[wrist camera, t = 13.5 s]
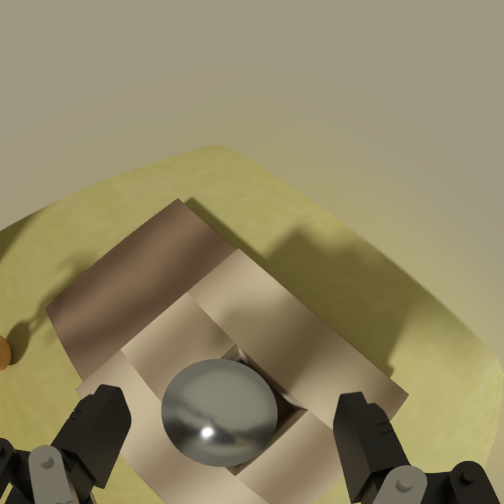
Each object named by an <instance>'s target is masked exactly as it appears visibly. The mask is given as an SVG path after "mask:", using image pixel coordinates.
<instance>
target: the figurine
mask: <svg viewBox="0 0 504 504" xmlns="http://www.w3.org/2000/svg"><path fill="white" fill-rule="evenodd" d="M10 361H11V349H10V346H9V344H8V343H7V341H6V340H5V339H4V338H3V337H2V336H0V370H3V369H5V368H6V367H7V366H8V365H9V363H10Z"/></svg>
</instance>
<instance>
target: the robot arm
mask: <svg viewBox="0 0 504 504" xmlns="http://www.w3.org/2000/svg"><path fill="white" fill-rule="evenodd" d="M131 422H132V418H131V413H130V410H129V408H128V405H127V403H126V400H125V397H124V394H123V391H122V389H121V388H120V387H116V386H111V385H106V384H101V385H99V387H98V388H97V390H96V391H95V393H94V394H89V395H87V396H86V397H85V398H83V399H82V400H80V402H79V403H78V405H77V406H76V407H75V409H74V412H72V413H71V415H70V416H69V419H67V421H66V422H65V424H64V425H63V427H62V428H61V430H60V431H59V433H58V435H57V436H56V438H55V439H54V441H53V442H52V444H51V445H50V446H49V445H42V446H39V447H37V448H35V449H34V450H33V451H32V452H29V451H22V450H17V449H14V447H13V446H12V445H11V443H10V442H9V441H8V440H6V439H4V438H0V499H1V497H2V495H3V493H4V491H5V489H6V487H7V485H8V483H10V484H11V485H12V486H13V487H12V489H11V491H10V493H9V495H8V497H7V499H6V502H5V504H97V503H96V501H95V498H94V495H93V493H92V492H91V490H92V488H93V486H96V487H99V488H102V489H104V488H105V486H106V483H107V481H108V479H109V476H110V474H111V471H112V469H113V467H114V464H115V462H116V460H117V457H118V455H119V453H120V450H121V448H122V446H123V443H124V441H125V439H126V437H127V434H128V432H129V430H130V427H131ZM333 435H334V439H335V442H336V446H337V450H338V454H339V458H340V462H341V466H342V469H343V473H344V477H345V481H346V485H347V489H348V493H349V498H350V502H351V504H354V503H358V502H361V504H500V502H499V500H498V498H497V496H496V494H495V492H494V489H493V487H492V486H491V483H490V481H489V479H488V477H487V475H486V473H485V471H484V469H483V468H482V467H481V465H479V464H478V463H476V462H473V461H464V462H461V463H459V464H457V465H456V466H455V467H454V468H453V469H452V471H450V472H441V473H424V472H423V471H422V470H421V469H419V468H417V467H414V466H411V465H410V463H409V461H408V459H407V457H406V455H405V453H404V451H403V448H402V446H401V444H400V442H399V440H398V438H397V436H396V433H395V432H394V429H393V427H392V425H391V423H390V421H389V419H388V417H387V415H386V413H385V411H384V410H383V409H382V408H381V407H380V406H378V405H377V404H376V403H370V404H367V401H366V399H365V397H364V395H363V393H362V392H361V391H359V392H352V393H344V394H340V396H339V400H338V404H337V408H336V412H335V416H334V420H333Z"/></svg>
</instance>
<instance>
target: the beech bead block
mask: <svg viewBox="0 0 504 504" xmlns="http://www.w3.org/2000/svg"><path fill="white" fill-rule="evenodd" d="M208 359H227V360H232V361H236V362H240V361H243V362H244V363H245V364H246V365H247V366H248V367H249V368H251V369H252V370H254V371H255V372H256V373H258V374H259V375H260V376H261V377H262V378H263V379H264V380H265V382H266V383H267V384H268V385H269V386H270V387H271V388H272V389H273V390H274V391H275V392H276V393H277V394H278V395H280V396H281V397H282V398H283V399H284V400H285V401H286V402H287V403H289V404H290V405H291V406H292V407H293V408H294V409H293V410H292V411H291V412H290V413H289V414H288V415H287V416H286V417H285V418H284V419H283V420H282V421H281V422H280V423H279V424H278V425H277V426H276V429H275V431H274V434H273V436H272V438H271V440H270V442H269V443H268V445H267V446H266V447H265V448H264V449H263V450H262V451H261V452H260V453H259V454H258V455H257V456H255V457H254V458H252V459H250V460H249V461H247V462H244V463H242V464H239V465H235V466H229V467H214V466H208V465H204V464H201V463H198V462H196V461H193V460H192V459H190V458H188V457H187V456H185V455H184V454H182V453H181V452H180V451H179V450H178V449H177V448H176V447H175V446H174V445H173V443H172V442H171V441H170V439H169V437H168V436H167V434H166V432H165V429H164V426H163V423H162V417H161V405H162V399H163V396H164V393H165V391H166V388H167V387H168V385H169V383H170V382H171V381H172V379H173V378H174V377H175V376H176V375H177V374H178V373H179V372H180V371H182V370H183V369H184V368H186V367H188V366H189V365H191V364H194V363H196V362H199V361H203V360H208ZM101 384H106V385H111V386H116V387H120V388H121V389H122V391H123V394H124V397H125V400H126V403H127V405H128V408H129V410H130V413H131V418H132V422H131V427H130V430H129V432H128V434H127V437H126V439H125V441H124V443H123V446H122V448H121V450H120V454H121V455H122V457H123V458H124V459H125V460H126V461H127V463H128V464H129V465H130V466H131V467H132V468H133V470H134V471H135V472H136V473H137V474H138V475H139V476H140V477H141V479H142V480H143V481H144V482H145V483H146V484H147V485H148V486H149V487H150V488H151V489H152V490H153V491H154V492H155V493H156V494H157V495H158V496H159V497H160V498H161V499H162V500H163V501H164V502H165V503H166V504H313V503H314V502H316V501H317V500H318V499H319V498H320V497H321V496H322V495H323V494H324V493H326V492H327V491H328V490H329V489H330V488H331V487H332V486H333V485H334V484H335V483H336V482H337V481H338V480H339V479H340V478H341V477H342V476H343V475H344V473H343V469H342V466H341V462H340V458H339V454H338V450H337V446H336V442H335V439H334V435H333V420H334V416H335V412H336V408H337V404H338V400H339V396H340V394H344V393H352V392H359V391H361V392H362V393H363V395H364V397H365V399H366V401H367V404H370V403H376V404H377V405H378V406H380V407H381V408H382V409H383V410H384V411H385V413H386V415H387V417H388V419H389V421H391V419H392V418H393V417H394V415H395V414H396V413H397V411H398V410H399V409H400V407H401V406H402V404H403V403H404V401H405V400H406V399H407V397H408V396H409V394H408V393H407V392H405V391H404V390H403V389H402V388H401V387H399V386H398V385H397V384H396V383H395V382H394V381H392V380H391V379H390V378H389V377H388V376H387V375H385V374H384V373H383V372H382V371H381V370H380V369H378V368H377V367H376V366H375V365H374V364H372V363H371V362H370V361H369V360H368V359H367V358H365V357H364V356H363V355H362V354H361V353H360V352H358V351H357V350H356V349H355V348H354V347H353V346H351V345H350V344H349V343H348V342H347V341H346V340H344V339H343V338H342V337H341V336H340V335H339V334H337V333H336V332H335V331H334V330H333V329H332V328H330V327H329V326H328V325H327V324H326V323H325V322H323V321H322V320H321V319H320V318H319V317H318V316H317V315H315V314H314V313H313V312H312V311H311V310H310V309H308V308H307V307H306V306H305V305H304V304H303V303H301V302H300V301H299V300H298V299H297V298H296V297H295V296H293V295H292V294H291V293H290V292H289V291H288V290H286V289H285V288H284V287H283V286H282V285H281V284H279V283H278V282H277V281H276V280H275V279H274V278H273V277H271V276H270V275H269V274H268V273H267V272H266V271H264V270H263V269H262V268H261V267H260V266H259V265H258V264H256V263H255V262H254V261H253V260H252V259H251V258H250V257H248V256H247V255H246V254H245V253H244V252H243V251H241V250H240V249H239V248H238V249H237V250H236V251H235V252H233V253H232V254H231V255H230V256H229V257H227V258H226V259H225V260H224V261H223V262H221V263H220V264H219V265H218V266H217V267H216V268H214V269H213V270H212V271H211V272H210V273H209V274H207V275H206V276H205V277H204V278H203V279H201V280H200V281H199V282H198V283H197V284H196V285H194V286H193V287H192V288H191V289H190V290H189V291H187V292H186V293H185V294H184V295H183V296H182V297H180V298H179V299H178V300H177V301H176V302H175V303H173V304H172V305H171V306H170V307H169V308H168V309H166V310H165V311H164V312H163V313H162V314H161V315H159V316H158V317H157V318H156V319H155V320H154V321H152V322H151V323H150V324H149V325H148V326H147V327H145V328H144V329H143V330H142V331H141V332H140V333H139V334H137V335H136V336H135V337H134V338H133V339H132V340H130V341H129V342H128V343H127V344H126V345H125V346H124V347H122V348H121V349H120V350H119V351H118V352H117V353H116V354H114V355H113V356H112V357H111V358H110V359H109V360H108V361H106V362H105V363H104V364H103V365H102V366H101V367H100V368H98V369H97V370H96V371H95V372H94V373H93V374H92V375H90V376H89V377H88V378H87V379H86V380H85V381H84V382H83V383H81V384H80V385H79V386H78V387H77V388H76V389H75V390H76V391H77V393H78V395H79V396H80V398H81V399H83V398H85V397H86V396H87V395H89V394H94V393H95V391H96V390H97V388H98V387H99V385H101Z"/></svg>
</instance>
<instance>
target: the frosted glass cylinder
mask: <svg viewBox="0 0 504 504" xmlns="http://www.w3.org/2000/svg"><path fill="white" fill-rule="evenodd" d="M161 417H162V423H163V426H164V429H165V432H166V434H167V436H168V437H169V439H170V441H171V442H172V443H173V445H174V446H175V447H176V448H177V449H178V450H179V451H180V452H181V453H182V454H184V455H185V456H187V457H188V458H190V459H192V460H193V461H196V462H198V463H201V464H204V465H208V466H214V467H229V466H235V465H239V464H242V463H244V462H247V461H249V460H250V459H252V458H254V457H255V456H257V455H258V454H259V453H260V452H261V451H262V450H263V449H264V448H265V447H266V446H267V445H268V443H269V442H270V440H271V438H272V436H273V434H274V431H275V429H276V424H277V405H276V401H275V398H274V395H273V393H272V391H271V389H270V387H269V386H268V384H267V383H266V382H265V380H264V379H263V378H262V377H261V376H260V375H259V374H258V373H256V372H255V371H254V370H252V369H251V368H249V367H248V366H245V365H243V364H241V363H239V362H236V361H232V360H227V359H208V360H203V361H199V362H196V363H194V364H191V365H189V366H188V367H186V368H184V369H183V370H182V371H180V372H179V373H178V374H177V375H176V376H175V377H174V378H173V379H172V381H171V382H170V383H169V385H168V387H167V388H166V391H165V393H164V396H163V399H162V405H161Z"/></svg>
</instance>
